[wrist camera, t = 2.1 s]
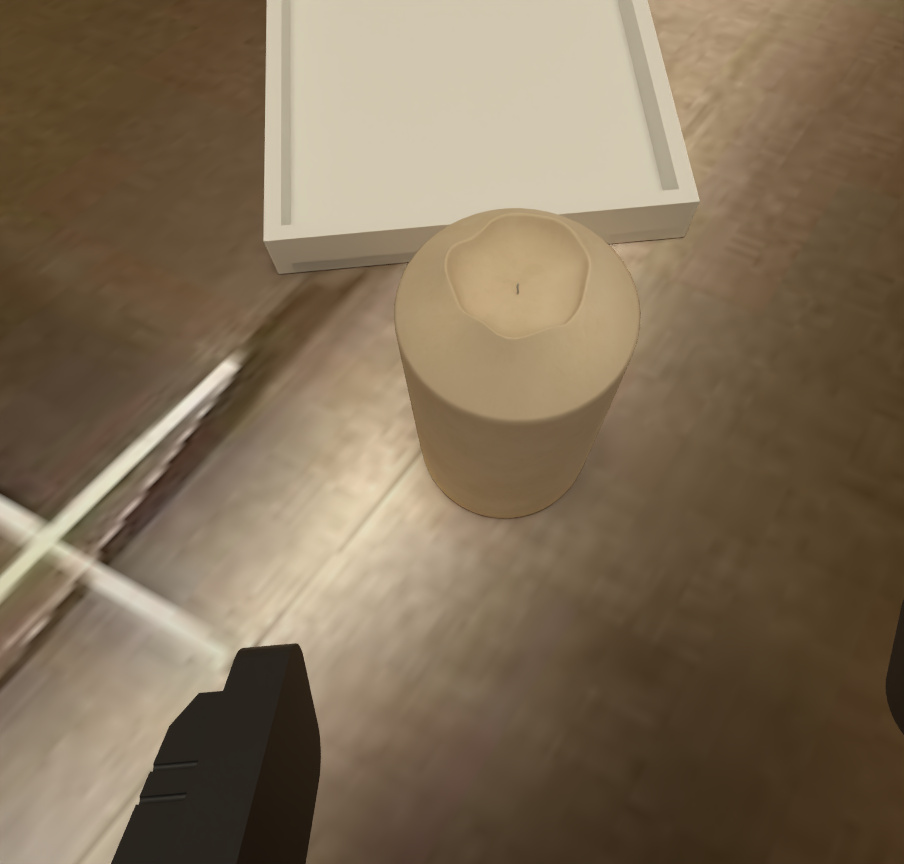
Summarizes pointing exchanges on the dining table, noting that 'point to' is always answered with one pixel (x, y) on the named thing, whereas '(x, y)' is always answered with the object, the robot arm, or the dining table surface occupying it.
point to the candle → (513, 354)
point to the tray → (463, 124)
